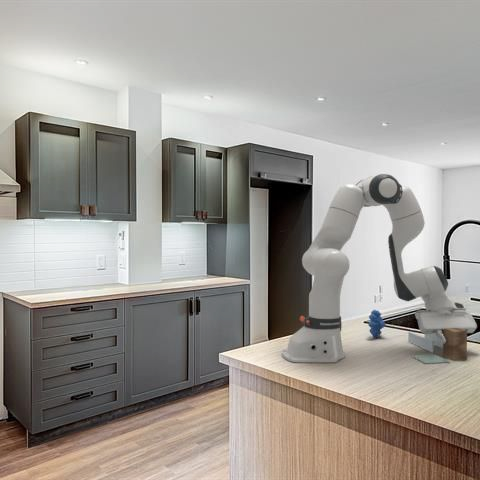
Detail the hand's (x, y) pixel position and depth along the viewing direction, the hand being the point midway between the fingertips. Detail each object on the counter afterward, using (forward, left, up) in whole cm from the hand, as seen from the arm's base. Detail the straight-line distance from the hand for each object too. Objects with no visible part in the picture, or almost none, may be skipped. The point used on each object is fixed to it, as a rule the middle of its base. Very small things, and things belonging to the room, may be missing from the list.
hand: (454, 342), depth 153 cm
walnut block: (0, 0, -5) cm, 5 cm away
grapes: (-13, +32, -6) cm, 35 cm away
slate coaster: (-10, 0, -5) cm, 11 cm away
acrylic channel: (0, +16, -5) cm, 17 cm away
